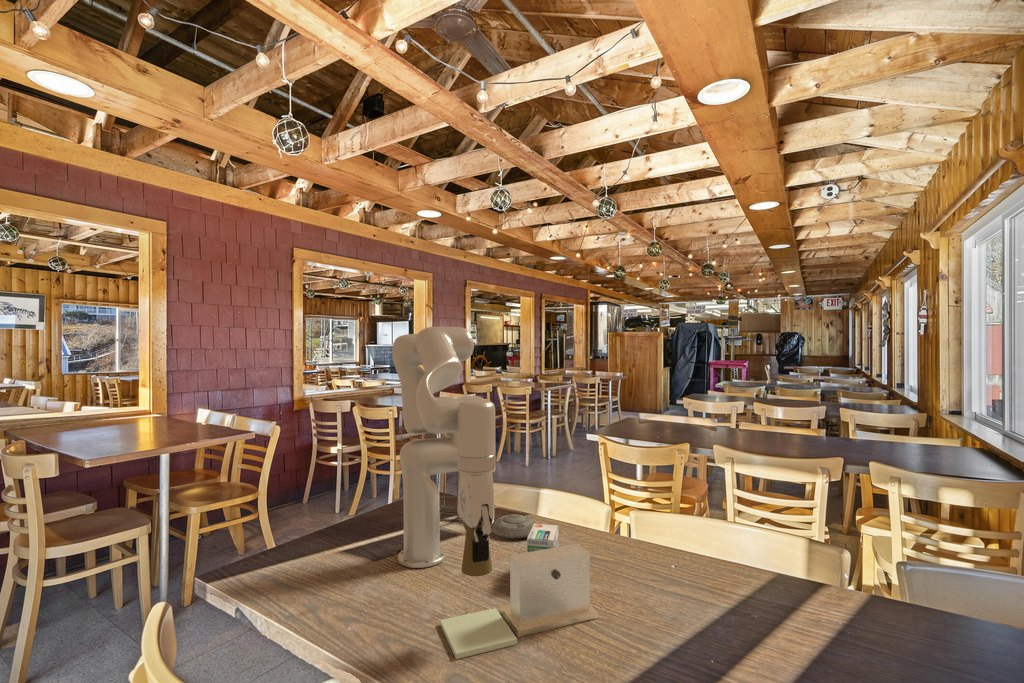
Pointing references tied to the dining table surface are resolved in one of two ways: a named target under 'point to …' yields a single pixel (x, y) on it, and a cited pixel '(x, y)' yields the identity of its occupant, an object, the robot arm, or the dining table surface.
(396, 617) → the dining table surface
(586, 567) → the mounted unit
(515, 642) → the mat
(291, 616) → the dining table surface
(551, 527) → the light bulb box
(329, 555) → the dining table surface
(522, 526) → the flying saucer
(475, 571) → the brown pawn
